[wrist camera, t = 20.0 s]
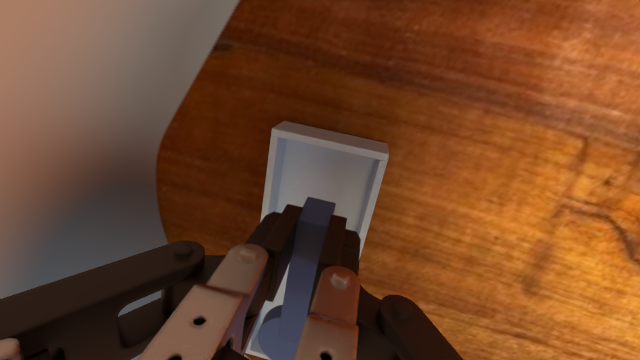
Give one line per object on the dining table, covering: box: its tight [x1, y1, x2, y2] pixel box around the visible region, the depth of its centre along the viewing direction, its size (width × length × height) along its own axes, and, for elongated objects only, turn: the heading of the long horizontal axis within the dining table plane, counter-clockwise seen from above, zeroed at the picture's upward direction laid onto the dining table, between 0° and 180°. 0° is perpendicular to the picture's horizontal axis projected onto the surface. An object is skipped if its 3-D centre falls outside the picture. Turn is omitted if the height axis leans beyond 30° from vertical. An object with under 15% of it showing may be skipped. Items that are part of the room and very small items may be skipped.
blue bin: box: [245, 121, 389, 360], centre depth 29 cm, size 25×9×4 cm, turn 170°
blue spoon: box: [258, 197, 336, 360], centre depth 15 cm, size 11×4×2 cm, turn 170°
